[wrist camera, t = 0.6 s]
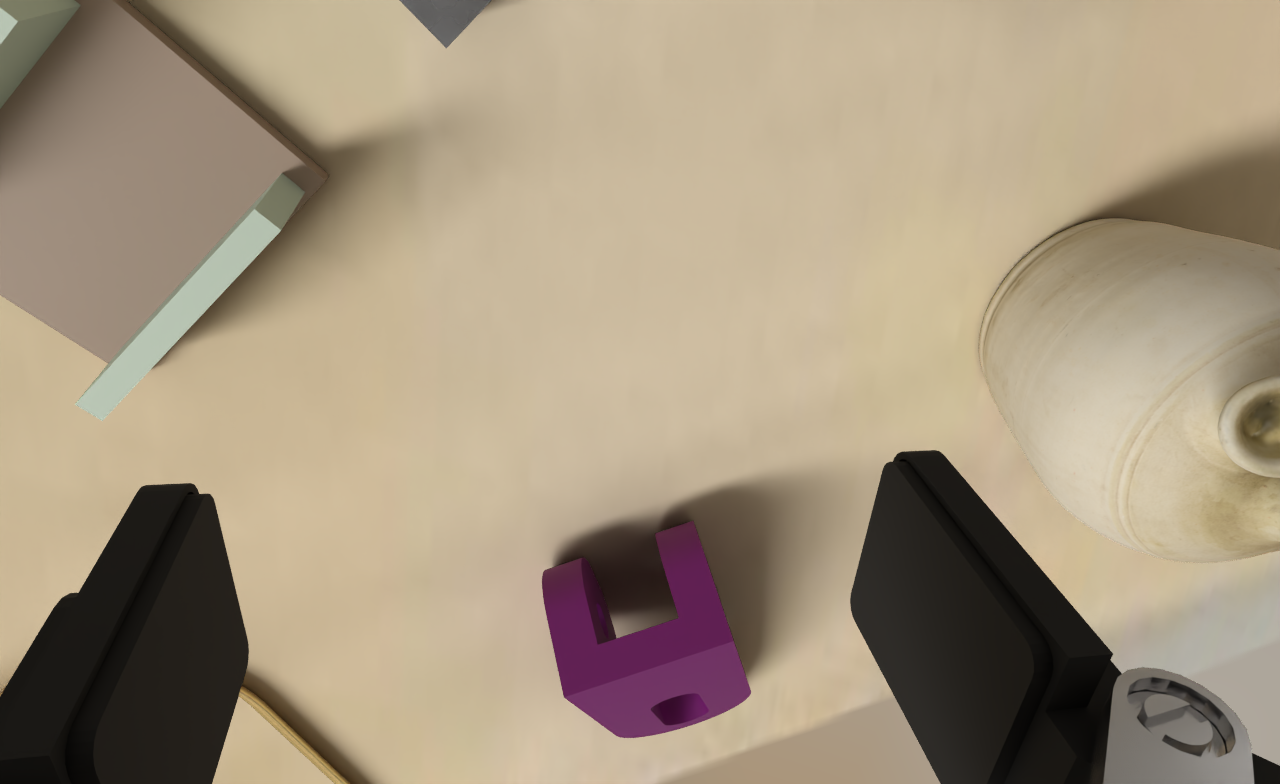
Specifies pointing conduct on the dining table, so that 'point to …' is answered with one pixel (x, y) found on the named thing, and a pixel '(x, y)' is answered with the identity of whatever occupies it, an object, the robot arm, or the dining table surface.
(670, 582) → the mounting bracket
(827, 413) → the dining table surface
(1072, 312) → the jug
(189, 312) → the post slot
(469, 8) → the tall grey upright block
